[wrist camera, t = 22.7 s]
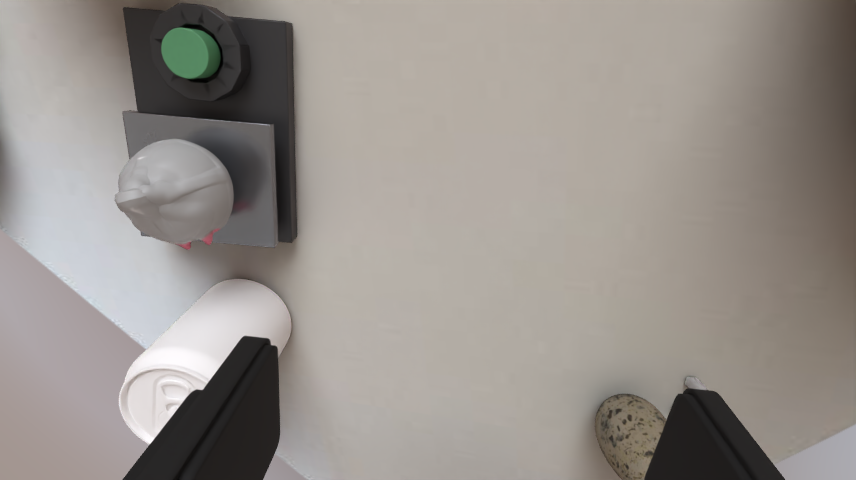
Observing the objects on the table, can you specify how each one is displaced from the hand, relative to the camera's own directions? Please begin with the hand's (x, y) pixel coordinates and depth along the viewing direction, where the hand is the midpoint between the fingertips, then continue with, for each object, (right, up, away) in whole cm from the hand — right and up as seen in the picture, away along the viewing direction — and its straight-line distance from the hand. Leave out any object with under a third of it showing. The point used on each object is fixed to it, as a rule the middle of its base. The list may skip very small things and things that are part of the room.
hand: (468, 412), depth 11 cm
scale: (-16, +12, +24) cm, 32 cm away
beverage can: (-17, -3, +30) cm, 35 cm away
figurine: (-17, +8, +22) cm, 29 cm away
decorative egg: (+17, -11, +32) cm, 38 cm away
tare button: (-16, +16, +20) cm, 30 cm away
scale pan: (-17, +8, +22) cm, 29 cm away
